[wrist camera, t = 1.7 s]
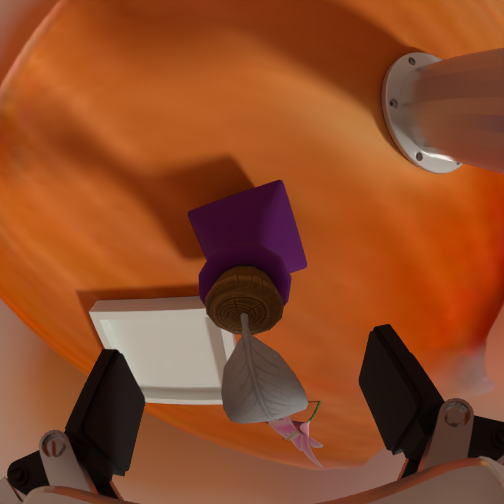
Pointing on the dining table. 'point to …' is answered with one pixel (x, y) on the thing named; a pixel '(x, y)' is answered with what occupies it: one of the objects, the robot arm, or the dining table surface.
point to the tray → (167, 346)
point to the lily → (297, 434)
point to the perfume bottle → (251, 295)
